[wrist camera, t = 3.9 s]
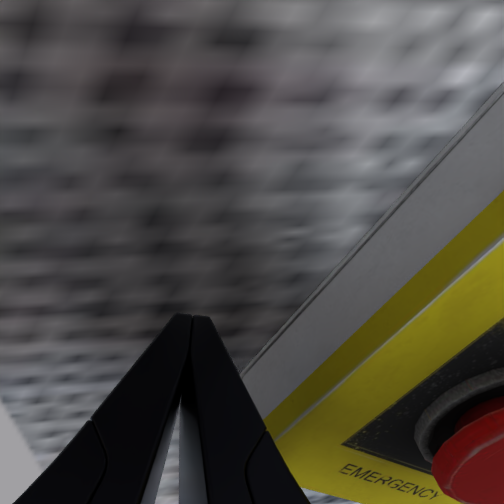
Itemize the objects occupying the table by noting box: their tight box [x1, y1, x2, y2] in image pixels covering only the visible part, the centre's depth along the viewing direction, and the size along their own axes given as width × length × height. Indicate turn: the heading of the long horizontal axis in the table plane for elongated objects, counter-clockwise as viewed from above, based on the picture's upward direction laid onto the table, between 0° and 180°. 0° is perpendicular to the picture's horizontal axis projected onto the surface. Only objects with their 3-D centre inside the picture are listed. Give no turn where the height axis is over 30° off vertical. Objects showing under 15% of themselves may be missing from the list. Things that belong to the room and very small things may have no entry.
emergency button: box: [239, 82, 504, 504], centre depth 9 cm, size 9×4×15 cm
